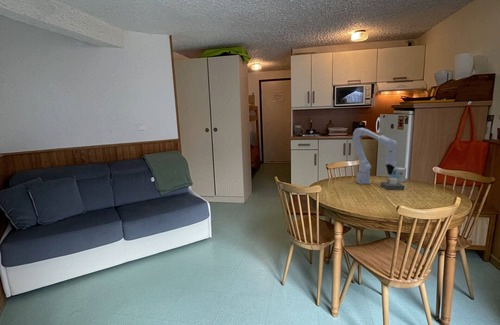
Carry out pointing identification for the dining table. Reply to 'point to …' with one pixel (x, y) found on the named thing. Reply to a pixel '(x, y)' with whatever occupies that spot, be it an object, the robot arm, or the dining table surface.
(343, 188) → the dining table surface
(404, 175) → the light bulb box
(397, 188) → the socket
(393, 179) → the plug
